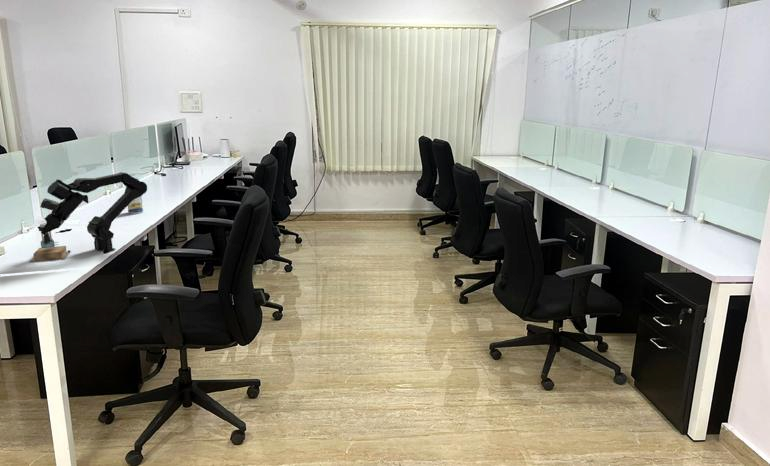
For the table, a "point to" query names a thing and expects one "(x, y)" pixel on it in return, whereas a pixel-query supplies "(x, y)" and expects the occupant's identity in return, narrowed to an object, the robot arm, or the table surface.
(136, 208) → the beverage bottle
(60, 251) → the tan flat square block
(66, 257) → the base plate
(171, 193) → the table surface
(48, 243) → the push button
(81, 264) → the table surface
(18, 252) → the table surface
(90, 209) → the table surface
